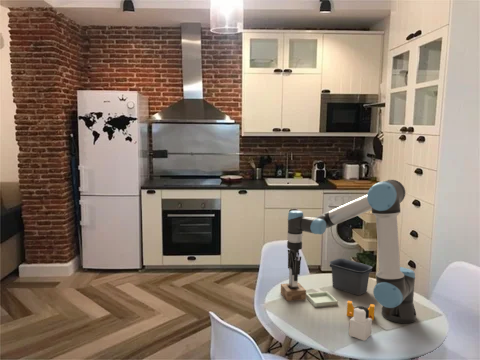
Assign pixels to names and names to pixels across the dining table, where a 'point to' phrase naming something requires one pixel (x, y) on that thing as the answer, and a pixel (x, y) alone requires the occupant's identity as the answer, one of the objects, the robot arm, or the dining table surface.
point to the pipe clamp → (351, 309)
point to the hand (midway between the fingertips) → (293, 284)
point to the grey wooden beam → (291, 278)
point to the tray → (321, 299)
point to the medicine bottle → (360, 323)
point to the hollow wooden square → (293, 292)
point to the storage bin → (350, 276)
